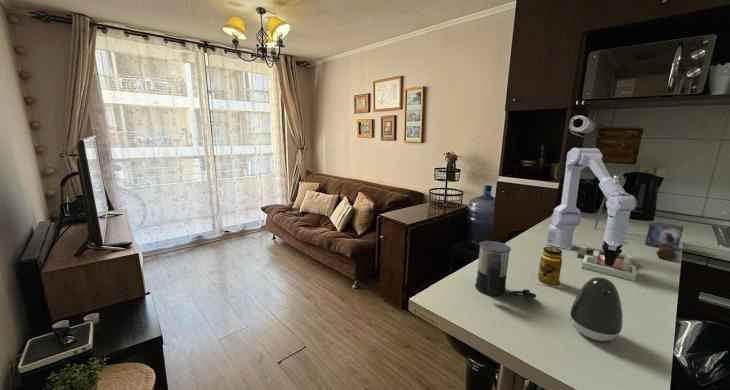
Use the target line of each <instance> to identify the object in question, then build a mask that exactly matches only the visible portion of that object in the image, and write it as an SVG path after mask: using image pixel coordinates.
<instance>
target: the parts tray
mask: <svg viewBox="0 0 730 390" xmlns="http://www.w3.org/2000/svg"><path fill="white" fill-rule="evenodd" d="M591 262H592V256H587V255H585V257H584V259H582V264H581V269H583V270H584V269H585V270H587V271H592V272H596V273H600V274H604V275H608V276H611V277H614V278H618V279H623V280H628V281H632V282H636V278H637V277H636V276H637V266H634V265H633V266H631V265H629V270H628V272H625V271H621V270H617V269H613V268H609V267H604V266H600V265H596V264H592V263H591Z"/></svg>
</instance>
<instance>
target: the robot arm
mask: <svg viewBox="0 0 730 390" xmlns="http://www.w3.org/2000/svg"><path fill="white" fill-rule="evenodd" d="M603 158H604V157H603V154H602V152H601V151H600V149H599V148H596V147H593V148H587V147H586V148H584V147H583V148H582V147H580V148H579V147H572V148H571V149H570V150H569V151H568V152H567V154H566V161H565V171H564V178H563V179H564V180H563V187H562V193H561V202H560V204H559V205H557V206H556V207H555V208H554V209H553V212H552V214H551V219H550V220H551V222H552V224H549V226H548V231H547V236H546V243H545V245H548V246H550V247H556V248H559V249H560V248H561V249H566V250H570V251H571V250H572V248H573V247H574V243H573V238H574V232H575V229H576V228H577V226H579V225H580V224H581V222H582V219H581V218H582V216H581V210H580V209H579V208H578V207H577V206H576V205H577V202H578V201H577V200H578V193H579V192H578V191H579V184H580V180H581V179H580V178H581V171H583V170H584V169H585V168H586V167H587V168H590V171H591V172H593V174H594V175H595V176H596V178H597V179H598V181H599V183H598V187H599V189H600V190H601V192H602V194H603V196H604V197H606V198H607V199H606V201H605V206H606V209H607V210H606V211H607V212H606V214H607V215H608V216H607V221H606V225H605V230H604V233H603V234H604V235H603V237H602V243H603V244H602V246H601V249H602V251H604V256H605V265H608V266H613V264H614V262H615V260H616V258H617V257H618V255H621V254H622V252H623V249H621V248H622V247H623V246H624V245H629V241H628V240H625V239H626V234H627V229H628V227H629V226H628V224H629V221H630V220H629V219H630V216H631V215H630V214H631V212H632V211H634V210H636V208H637V205H638V202H637V199H636V196H634V195H631V194H630V193H628V192H626V191H625V189H624V187H623V188H622V186H621V185H620V183H619V180H617V179H616V178H613V177H612V176H611V175H610V173H609V171H608V169H607V168H606V165H605V163H604V161H603Z"/></svg>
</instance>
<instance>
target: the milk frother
mask: <svg viewBox="0 0 730 390" xmlns="http://www.w3.org/2000/svg"><path fill="white" fill-rule="evenodd" d="M478 245H479V253H478V254H479V255H478V263H477V272H476V275H477V276H476V281H475V284H474V286H475V288H476V289H477V290H478V292H480V293H483V294H485V295H489V296H495V297H497V296H498V297H500V296H504V295H505V296H511V297H517V298H521V299H535V298H537V294H536V293H534V292H531V291H530V289H522V290H511V291H509V292H507V288H506V286H507V285H506V283H507V275H508V266H509V258H510V251H511V250H512V247H511V246H509V245H508V244H507V243H506V244H505V243H502V242H499V241H492V240H484V241H480V242H479V243H478Z"/></svg>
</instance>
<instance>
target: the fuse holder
mask: <svg viewBox="0 0 730 390" xmlns="http://www.w3.org/2000/svg"><path fill="white" fill-rule="evenodd" d="M594 250H595V251H599V254H600V255H604V251H603V250H600V249H595V248H590V247H588V245H587V244H584V243H583V244H581V245H580V247H579V250H578V252H577V256H576V257H577V258H579V259H582V260H584V257H585V255H587V256H592V257H593V253H594ZM624 257H627V258H630V265H631V266H634V255H633V254H630V253H629V254H628V253H626V255H623V254H619V255H618V257H617V258H618V259H623V260H624Z"/></svg>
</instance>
